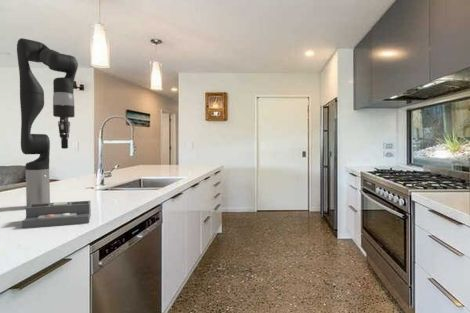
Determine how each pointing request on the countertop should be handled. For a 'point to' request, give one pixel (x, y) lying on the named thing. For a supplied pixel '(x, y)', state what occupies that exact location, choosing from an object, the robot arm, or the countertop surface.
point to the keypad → (57, 214)
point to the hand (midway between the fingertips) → (64, 148)
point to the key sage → (60, 204)
